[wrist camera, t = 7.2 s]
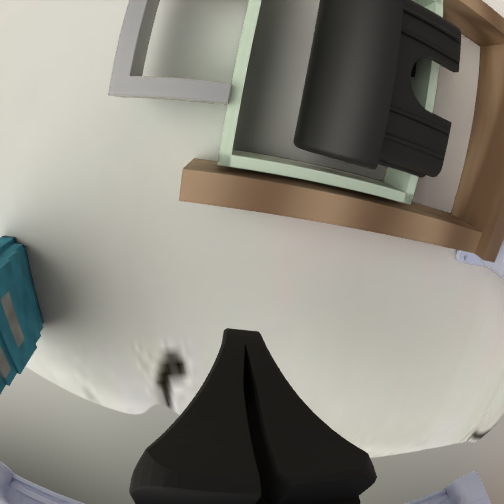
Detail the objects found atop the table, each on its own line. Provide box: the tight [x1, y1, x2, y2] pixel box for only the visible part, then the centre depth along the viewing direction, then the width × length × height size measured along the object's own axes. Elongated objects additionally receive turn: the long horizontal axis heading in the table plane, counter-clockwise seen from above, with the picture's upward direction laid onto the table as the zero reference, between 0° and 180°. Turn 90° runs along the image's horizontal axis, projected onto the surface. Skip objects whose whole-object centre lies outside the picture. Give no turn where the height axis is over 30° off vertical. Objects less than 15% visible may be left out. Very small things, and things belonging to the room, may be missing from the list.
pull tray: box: [108, 0, 443, 205], centre depth 13 cm, size 17×14×4 cm
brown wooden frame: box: [179, 0, 504, 263], centre depth 13 cm, size 21×18×5 cm
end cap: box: [294, 0, 461, 177], centre depth 13 cm, size 10×7×7 cm
